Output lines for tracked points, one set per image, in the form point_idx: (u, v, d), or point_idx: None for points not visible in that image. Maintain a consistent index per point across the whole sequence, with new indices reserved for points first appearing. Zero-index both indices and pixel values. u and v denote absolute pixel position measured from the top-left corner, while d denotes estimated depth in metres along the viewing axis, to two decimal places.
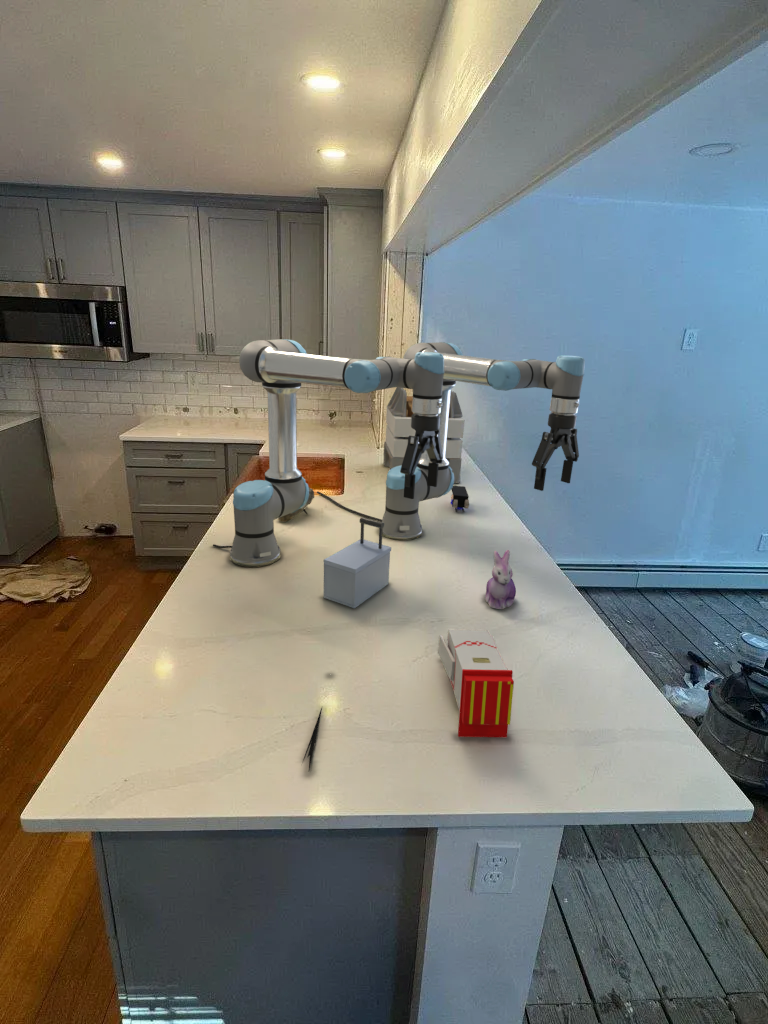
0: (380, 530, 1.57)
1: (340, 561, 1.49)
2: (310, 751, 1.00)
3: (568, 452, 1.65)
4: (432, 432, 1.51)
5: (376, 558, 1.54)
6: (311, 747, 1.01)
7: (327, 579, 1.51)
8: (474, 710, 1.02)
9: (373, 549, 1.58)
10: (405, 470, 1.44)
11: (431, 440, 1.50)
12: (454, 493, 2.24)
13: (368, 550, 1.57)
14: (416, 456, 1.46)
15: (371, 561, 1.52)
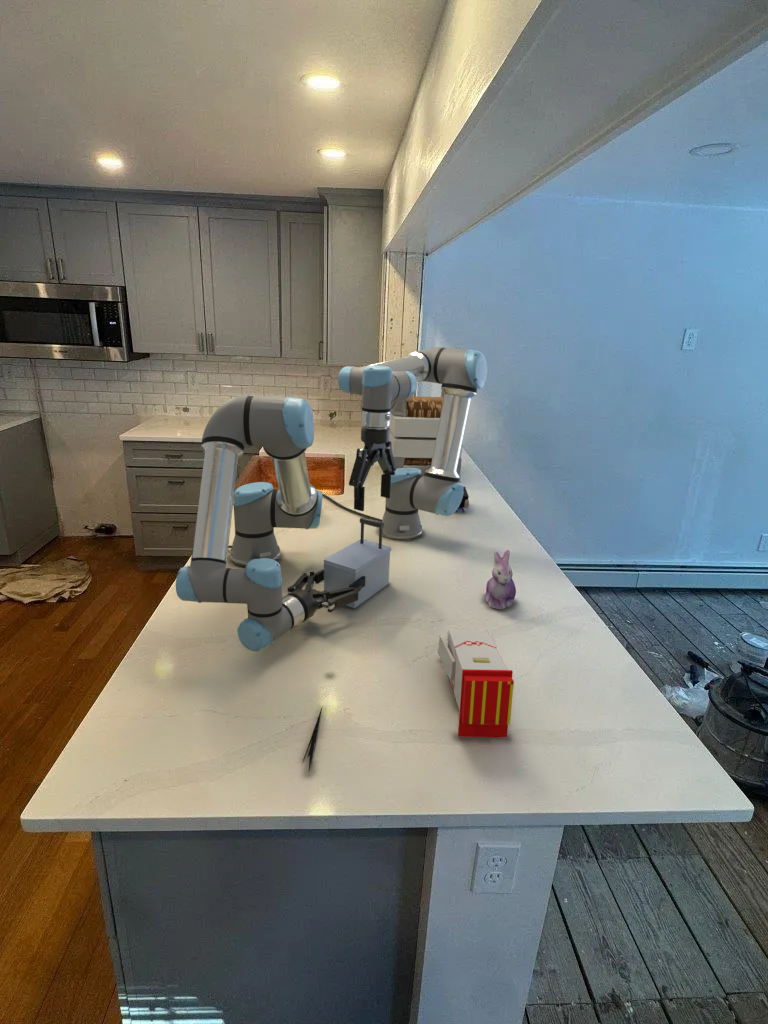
0: (380, 530, 1.57)
1: (340, 561, 1.49)
2: (310, 751, 1.00)
3: (385, 466, 1.56)
4: None
5: (376, 558, 1.54)
6: (311, 747, 1.01)
7: (327, 579, 1.51)
8: (474, 710, 1.02)
9: (373, 549, 1.58)
10: None
11: None
12: None
13: (368, 550, 1.57)
14: None
15: (371, 561, 1.52)
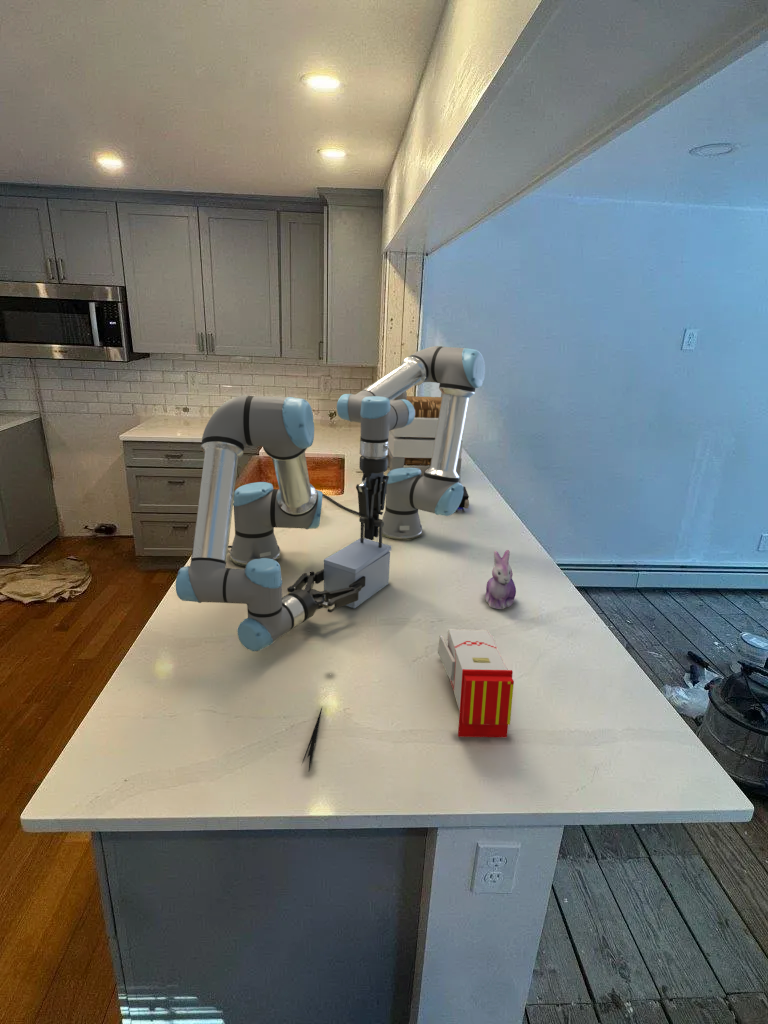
0: (380, 529, 1.56)
1: (340, 561, 1.49)
2: (310, 751, 1.00)
3: (376, 501, 1.56)
4: None
5: (376, 557, 1.54)
6: (311, 747, 1.01)
7: (327, 579, 1.51)
8: (474, 710, 1.02)
9: (373, 548, 1.58)
10: None
11: None
12: None
13: (368, 550, 1.57)
14: None
15: (371, 561, 1.52)
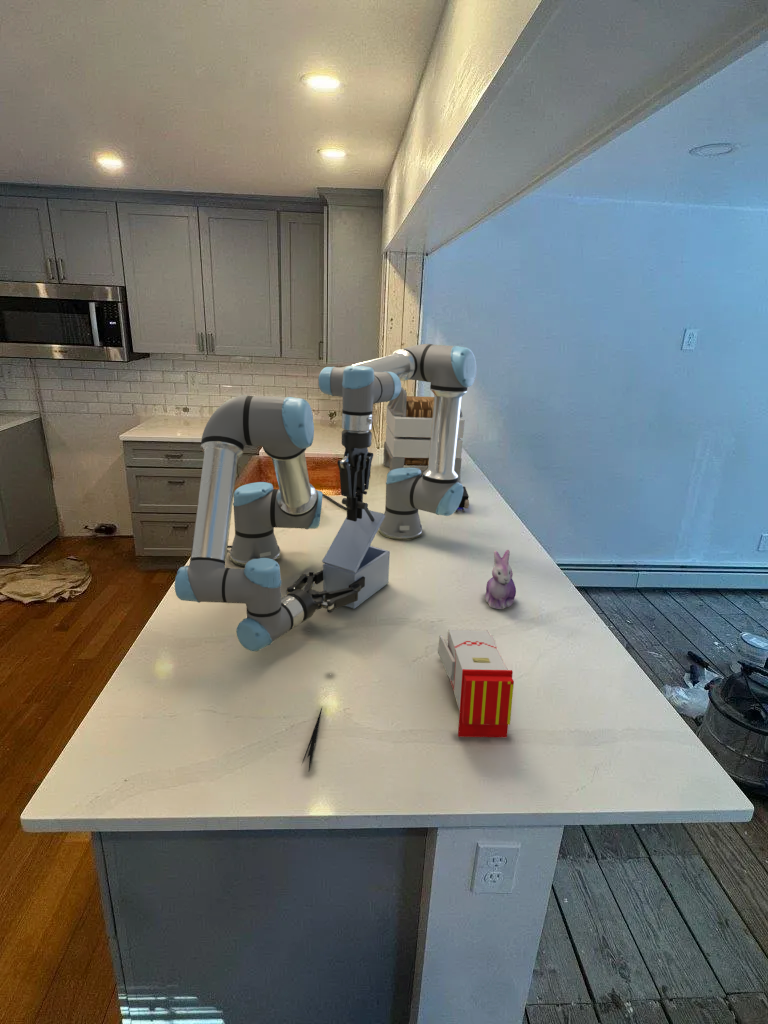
0: (365, 510, 1.47)
1: (337, 560, 1.48)
2: (310, 751, 1.00)
3: (359, 479, 1.46)
4: None
5: (371, 539, 1.49)
6: (311, 747, 1.01)
7: (326, 580, 1.51)
8: (474, 710, 1.02)
9: (366, 525, 1.52)
10: None
11: None
12: None
13: (362, 529, 1.51)
14: None
15: (368, 547, 1.48)
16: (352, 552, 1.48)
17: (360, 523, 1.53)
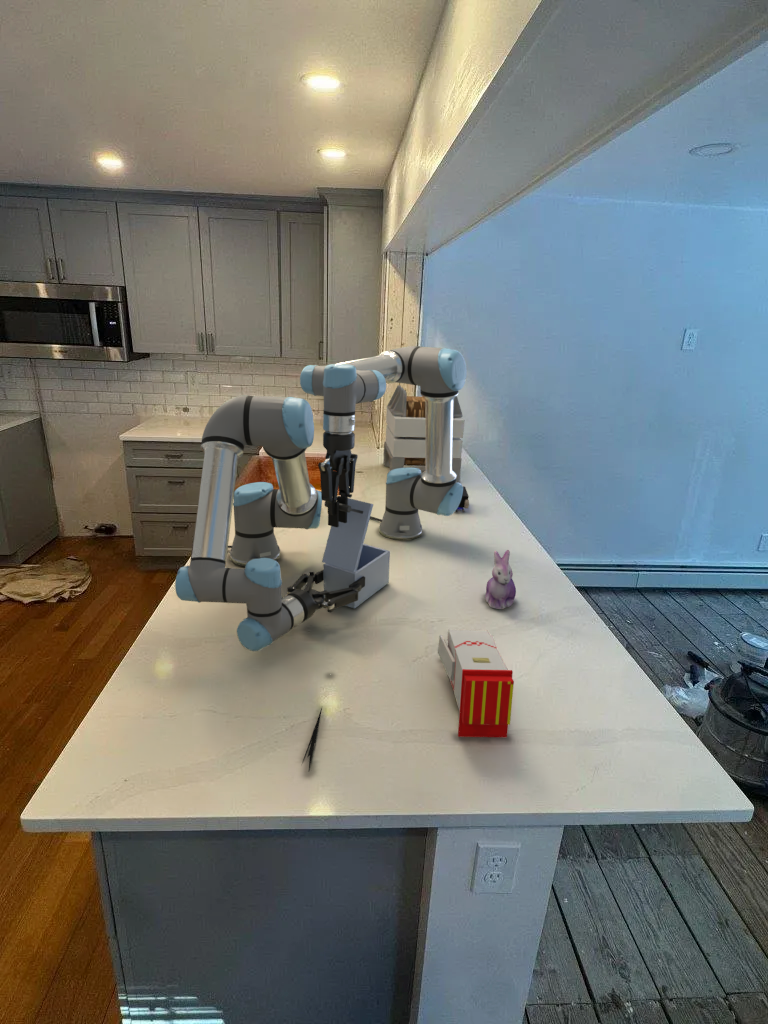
0: (350, 510, 1.41)
1: (336, 560, 1.48)
2: (310, 751, 1.00)
3: (343, 482, 1.40)
4: None
5: (364, 533, 1.45)
6: (311, 747, 1.01)
7: (327, 579, 1.51)
8: (474, 710, 1.02)
9: (356, 518, 1.46)
10: None
11: None
12: None
13: (353, 523, 1.47)
14: None
15: (362, 542, 1.45)
16: (348, 551, 1.46)
17: (350, 516, 1.47)
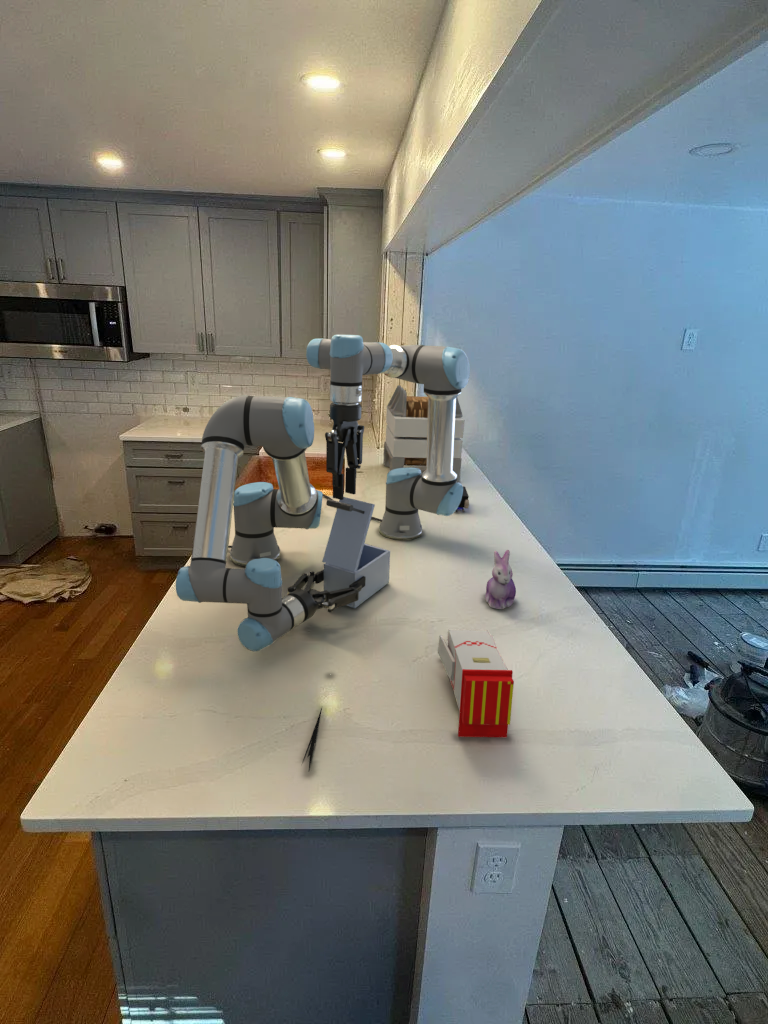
0: (352, 510, 1.42)
1: (336, 560, 1.48)
2: (310, 751, 1.00)
3: (351, 454, 1.41)
4: None
5: (365, 533, 1.46)
6: (311, 747, 1.01)
7: (327, 579, 1.51)
8: (474, 710, 1.02)
9: (357, 518, 1.47)
10: None
11: None
12: None
13: (354, 523, 1.47)
14: None
15: (363, 542, 1.46)
16: (349, 550, 1.46)
17: (351, 516, 1.48)
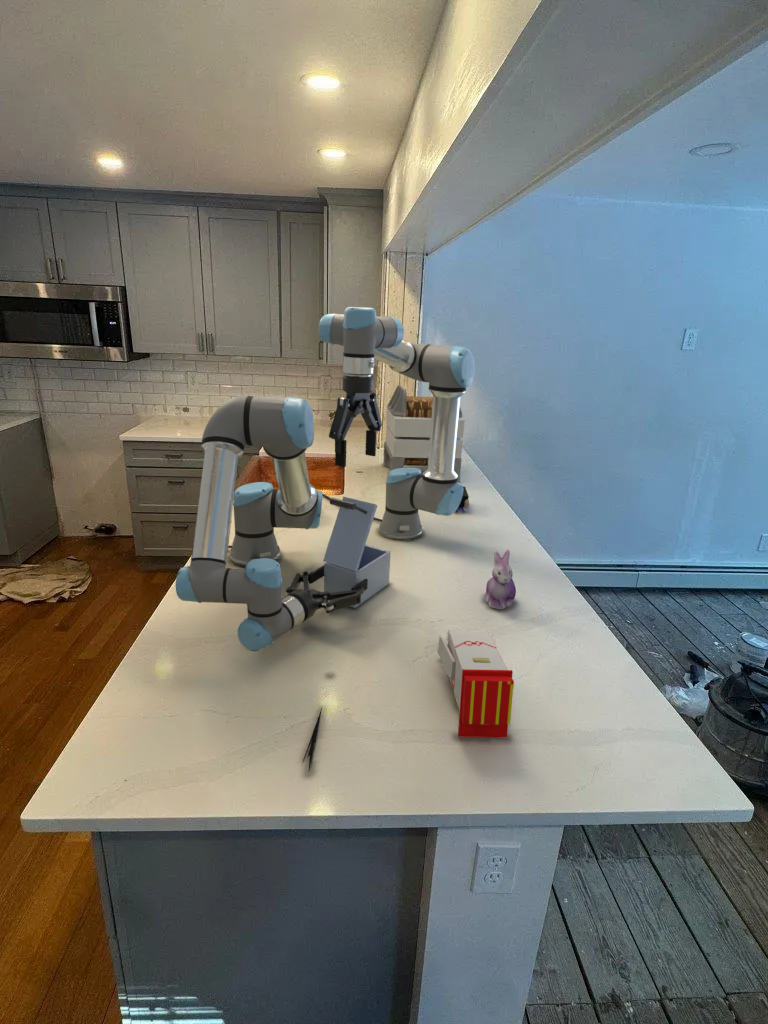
0: (355, 508, 1.43)
1: (337, 559, 1.48)
2: (310, 751, 1.00)
3: (369, 421, 1.44)
4: None
5: (367, 533, 1.47)
6: (311, 747, 1.01)
7: (327, 579, 1.52)
8: (474, 710, 1.02)
9: (360, 518, 1.48)
10: None
11: None
12: None
13: (356, 523, 1.48)
14: None
15: (365, 542, 1.47)
16: (350, 550, 1.47)
17: (353, 516, 1.49)
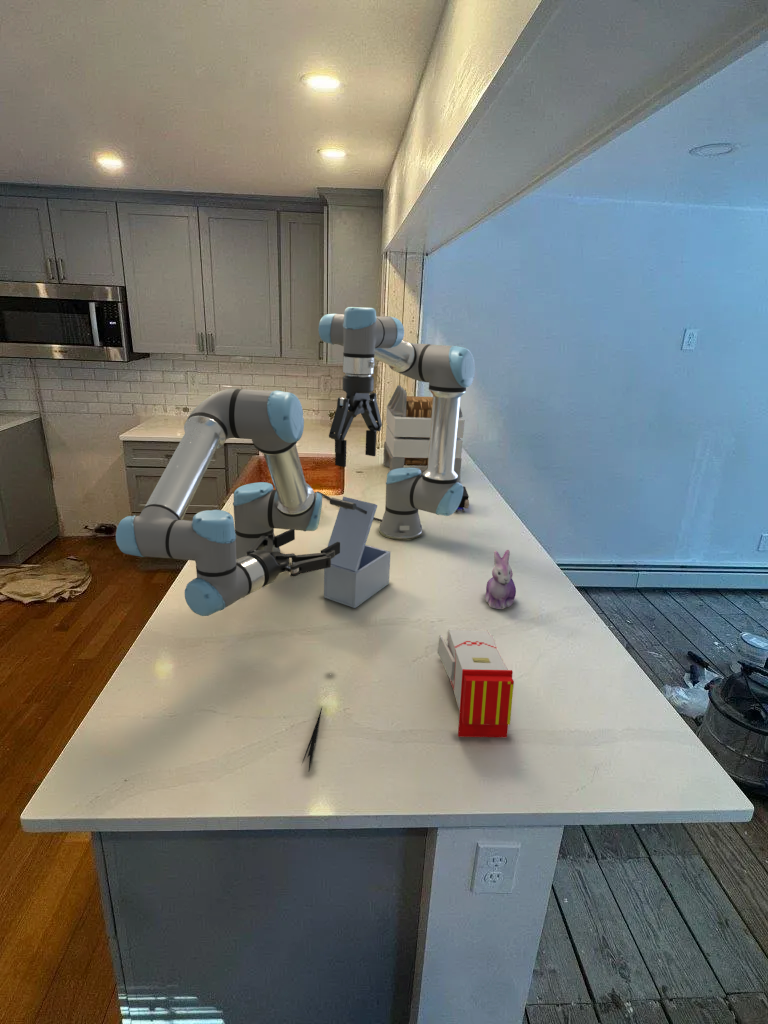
0: (355, 508, 1.43)
1: (337, 559, 1.48)
2: (310, 751, 1.00)
3: (369, 421, 1.44)
4: None
5: (367, 533, 1.47)
6: (311, 747, 1.01)
7: (327, 579, 1.52)
8: (474, 710, 1.02)
9: (360, 518, 1.48)
10: None
11: None
12: None
13: (356, 523, 1.48)
14: None
15: (365, 542, 1.47)
16: (350, 550, 1.47)
17: (353, 516, 1.49)
